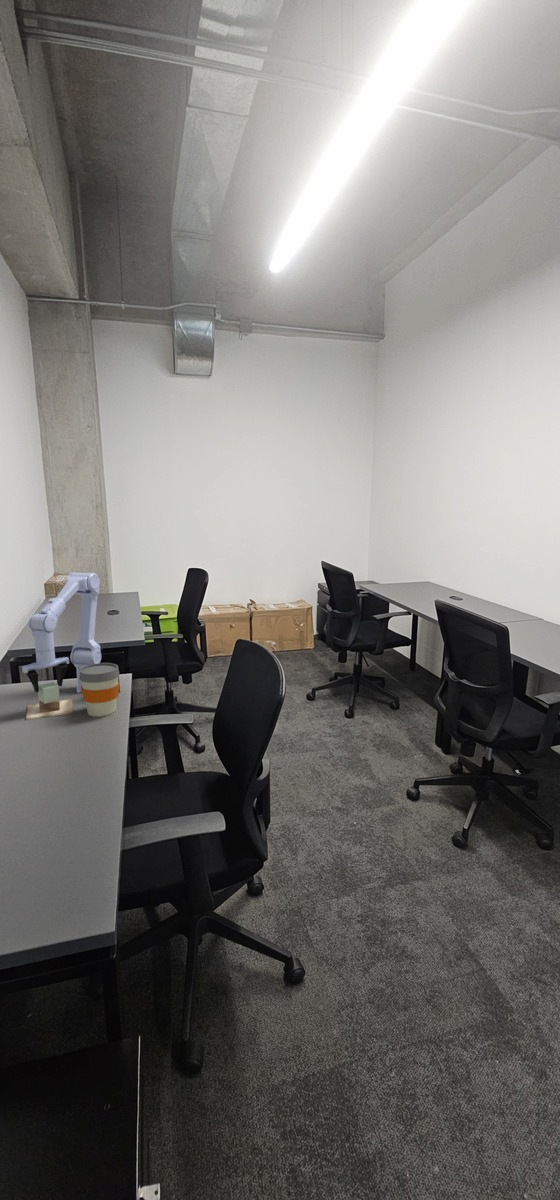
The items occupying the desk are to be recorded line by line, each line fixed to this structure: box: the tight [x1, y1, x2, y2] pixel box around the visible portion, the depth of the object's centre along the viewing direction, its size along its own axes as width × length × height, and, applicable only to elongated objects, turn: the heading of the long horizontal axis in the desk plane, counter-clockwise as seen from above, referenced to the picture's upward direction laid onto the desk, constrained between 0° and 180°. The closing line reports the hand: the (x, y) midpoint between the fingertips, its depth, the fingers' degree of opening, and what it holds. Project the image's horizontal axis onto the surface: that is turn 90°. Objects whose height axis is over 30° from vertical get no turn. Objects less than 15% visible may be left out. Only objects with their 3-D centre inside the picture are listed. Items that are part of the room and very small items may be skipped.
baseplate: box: [25, 698, 74, 721], centre depth 170 cm, size 14×12×4 cm
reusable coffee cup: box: [79, 662, 120, 717], centre depth 168 cm, size 13×13×15 cm
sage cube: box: [37, 681, 61, 704], centre depth 170 cm, size 5×5×5 cm
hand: (48, 688), depth 169 cm, fingers open, 7 cm apart
